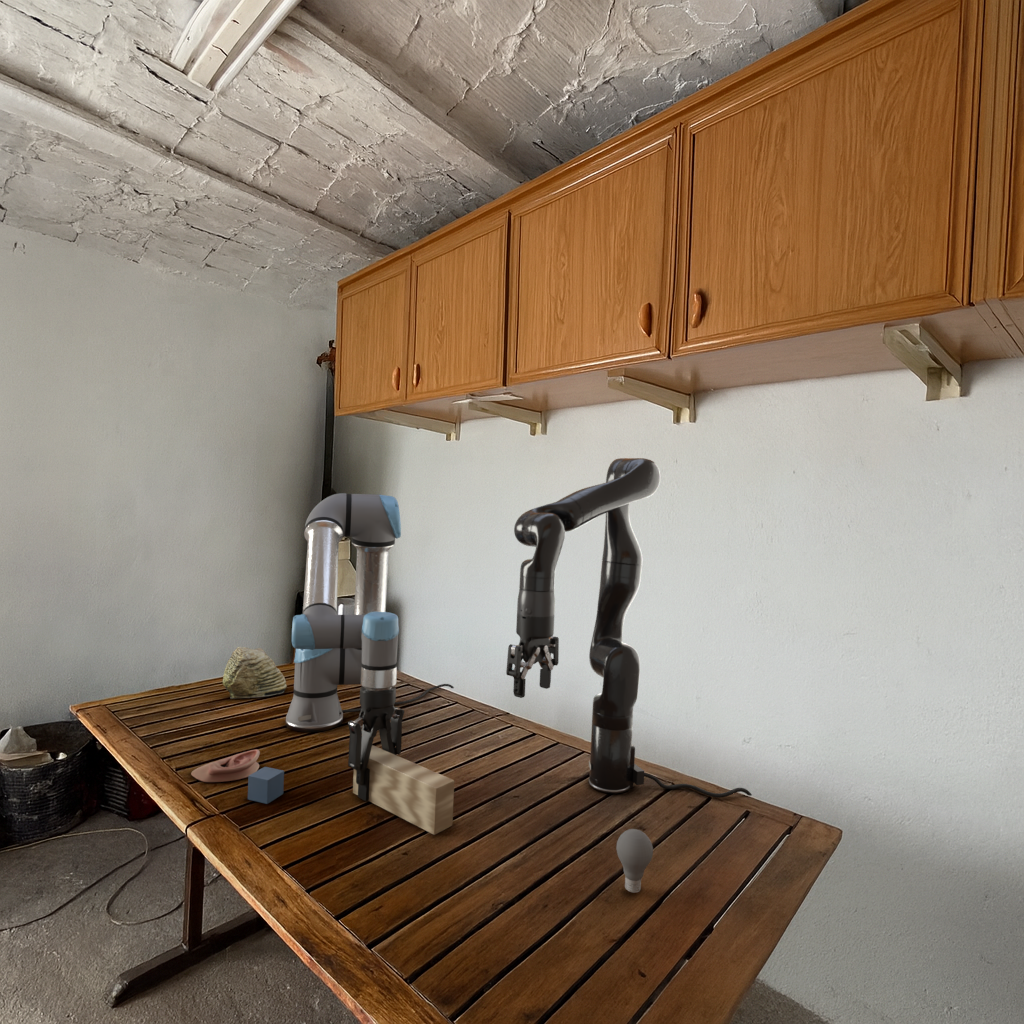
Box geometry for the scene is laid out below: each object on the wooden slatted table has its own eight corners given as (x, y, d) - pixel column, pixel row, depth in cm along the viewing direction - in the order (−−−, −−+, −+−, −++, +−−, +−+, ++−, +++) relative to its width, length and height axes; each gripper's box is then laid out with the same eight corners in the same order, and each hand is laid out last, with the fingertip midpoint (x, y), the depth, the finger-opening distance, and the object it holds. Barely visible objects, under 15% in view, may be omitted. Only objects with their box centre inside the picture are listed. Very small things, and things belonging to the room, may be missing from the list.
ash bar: (352, 792, 136) (354, 751, 136) (371, 785, 140) (372, 745, 140) (434, 835, 121) (436, 788, 120) (452, 825, 124) (454, 780, 124)
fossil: (218, 695, 195) (220, 647, 195) (278, 685, 208) (279, 640, 207) (228, 703, 189) (230, 653, 188) (289, 692, 201) (290, 645, 201)
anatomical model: (182, 760, 139) (216, 741, 150) (181, 778, 139) (216, 758, 150) (236, 768, 136) (267, 748, 147) (235, 786, 136) (266, 765, 147)
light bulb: (610, 879, 108) (613, 822, 108) (644, 879, 109) (647, 822, 109) (619, 902, 102) (622, 840, 102) (655, 901, 103) (658, 840, 103)
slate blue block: (264, 789, 136) (265, 766, 136) (283, 793, 134) (284, 770, 134) (247, 799, 131) (248, 775, 131) (267, 804, 130) (268, 780, 130)
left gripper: (398, 674, 145) (394, 775, 145) (331, 690, 130) (327, 802, 131) (421, 681, 140) (417, 785, 140) (354, 699, 126) (350, 815, 126)
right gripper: (541, 605, 135) (538, 681, 135) (498, 613, 123) (495, 695, 124) (571, 610, 130) (567, 689, 130) (529, 618, 119) (525, 704, 119)
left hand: (374, 793), depth 136 cm, fingers closed on ash bar, 5 cm apart
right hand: (532, 692), depth 127 cm, fingers open, 8 cm apart
